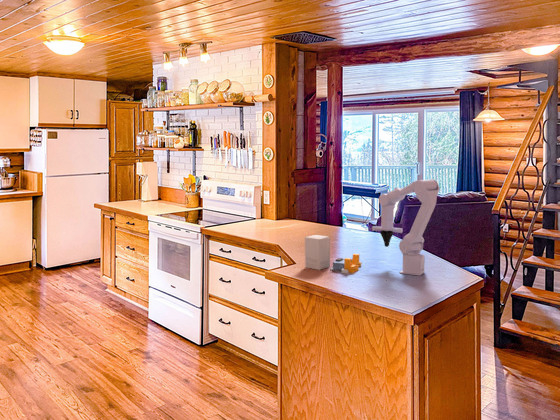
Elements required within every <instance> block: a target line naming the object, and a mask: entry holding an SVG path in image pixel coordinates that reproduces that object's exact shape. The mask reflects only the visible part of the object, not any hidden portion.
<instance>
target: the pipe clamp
mask: <svg viewBox="0 0 560 420" xmlns="http://www.w3.org/2000/svg"><path fill="white" fill-rule="evenodd" d="M344 258H345V259H344V269H349V274H355V273H356V272H358V271H359V268H360V266H359V262H360V253H353V254H352V258H350V257H344ZM351 259H352V262H351Z"/></svg>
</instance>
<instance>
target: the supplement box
mask: <svg viewBox="0 0 560 420" xmlns="http://www.w3.org/2000/svg"><path fill="white" fill-rule="evenodd" d="M304 267H305V268H307V269H313V270H316V271H317V270H318V271H320V270H323V269H326V268H330V267H331V236H328V235H320V234H313V235H309V236H304Z"/></svg>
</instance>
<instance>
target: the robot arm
mask: <svg viewBox="0 0 560 420" xmlns="http://www.w3.org/2000/svg"><path fill="white" fill-rule="evenodd" d="M439 191H440V185H439V182H438V181H437V180H436V179H435V178H434V179H433V178H432V179H417V180H414V181H412V182H411V183H410V184H409V183H408V185H406V186H404V187H403V188H402V187H395V188H393V190H391V191H387V193H381V194H380V195H379V197H378V203H379V204H380V206H381V208H380V211H381V212H380V215H381V216H380V218H381V220H380V221H381V222H380V223H381V224H380V226H379V225H378V226H377V225H376V226H375V225H373V226H371V231H372V232H373V231H376V232H380V236H381V237H382V241H383V244H384V247H385V248H387V247H388V248H389V246H390V242H391V239H392V237H393V235H394V233H397V234H398V233H400V234H402V233H403V232H404V231H403V229H404V228H401V227H394V211H395V206H396V204H397V203H398V202H400V201H403V200H404V199H405V197H406V196H407V195H409V194H412V193H414V194H415V195H416V197H417V199H418V200H419V202H421V205H420V208H419V210H418V212H417V214H416V217H415V219H414V221H413V224H412V226H411V228H410V231H409V233H407V234H405V235H404V236H403V238H402V239H401V240H400V242H399V245H398V247H399V248H398V249H399V251H400V252H401V254H402V270H401V271H399V274H403V275H412V276H413V275H414V276H421V275H422V274H424V273H425V255H424V254H421V251H422V250H423V249H424V242H425V239H424V237H423V235H424V232H425V231H426V228H427V225H428V224H429V221H430V219H431V216H432V214H433V212H434V210H435V207H436V206H437V200H438V199H437V197H438V194H439Z"/></svg>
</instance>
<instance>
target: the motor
mask: <svg viewBox="0 0 560 420" xmlns="http://www.w3.org/2000/svg"><path fill="white" fill-rule="evenodd" d="M345 258H346V257H338V258H336V259H335V260H334V261H333V262H332V267H331V268H330V269H329V271H331V270H333V271H334V272H338V271H339V272H340V273H341V274H342V273H343V274H342V275H349V274H350V273H349V269H344V259H345ZM351 262H352V258H351ZM362 266H363V265H362V261H359V268H361V267H362ZM333 271H332V272H333ZM339 272H338V273H339Z"/></svg>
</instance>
